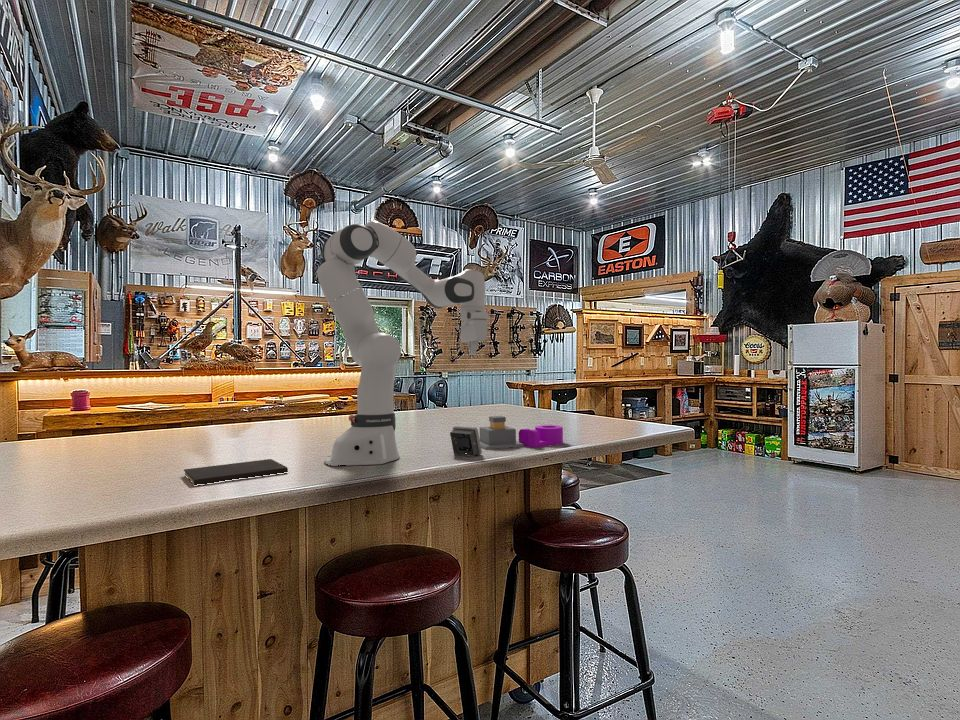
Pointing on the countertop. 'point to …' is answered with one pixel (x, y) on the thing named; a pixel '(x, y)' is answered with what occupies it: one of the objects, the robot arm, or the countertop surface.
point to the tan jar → (497, 422)
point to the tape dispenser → (541, 436)
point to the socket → (498, 438)
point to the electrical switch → (465, 440)
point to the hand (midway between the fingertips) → (472, 354)
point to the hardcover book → (234, 471)
